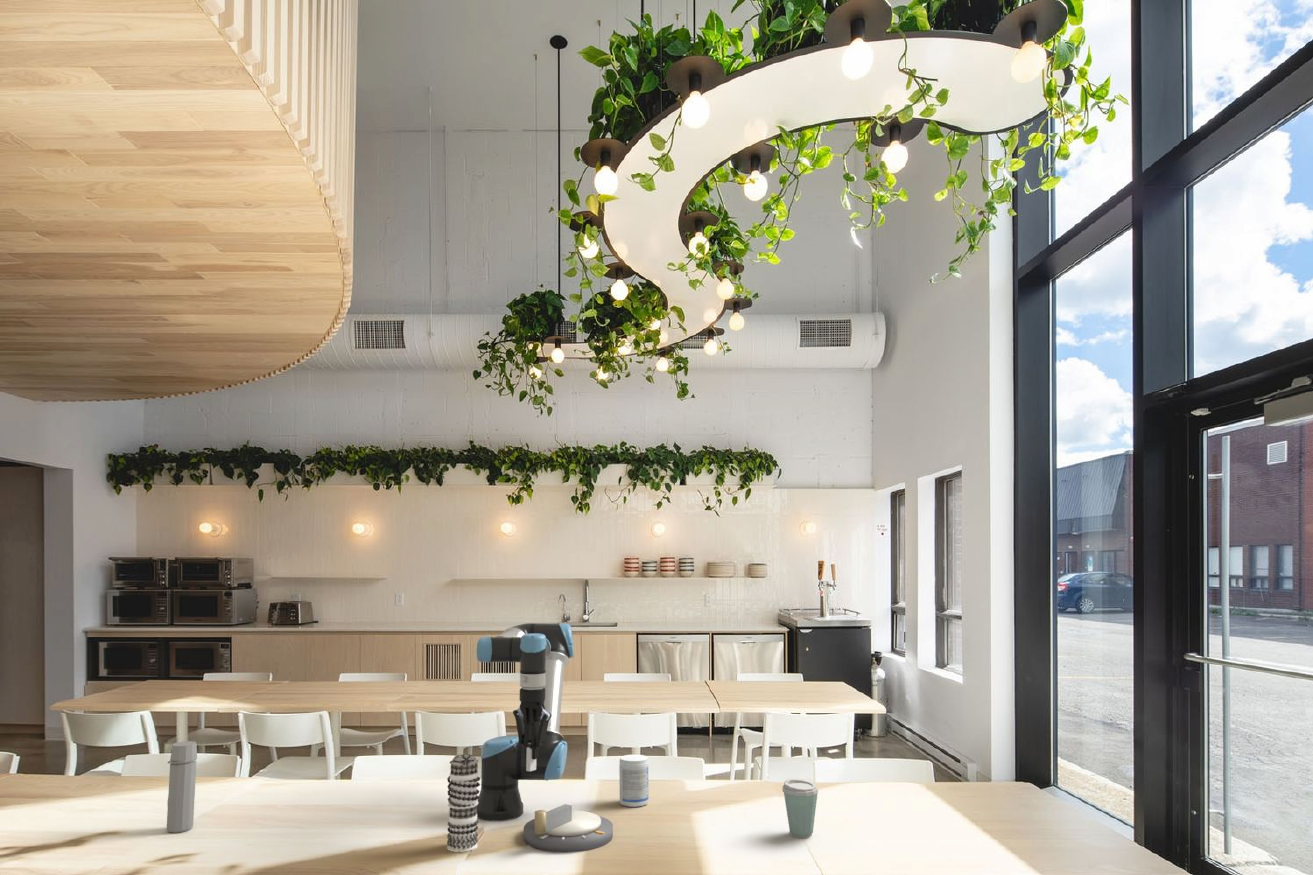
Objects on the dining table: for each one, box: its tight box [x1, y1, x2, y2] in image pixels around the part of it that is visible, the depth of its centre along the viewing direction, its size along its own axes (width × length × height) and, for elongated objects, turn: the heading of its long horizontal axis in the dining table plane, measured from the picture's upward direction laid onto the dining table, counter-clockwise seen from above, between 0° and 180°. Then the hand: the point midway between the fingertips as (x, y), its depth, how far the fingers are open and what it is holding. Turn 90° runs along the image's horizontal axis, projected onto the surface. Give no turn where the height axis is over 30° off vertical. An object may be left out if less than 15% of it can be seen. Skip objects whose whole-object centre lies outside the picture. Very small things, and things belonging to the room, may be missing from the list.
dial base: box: [522, 815, 614, 853], centre depth 268 cm, size 26×26×3 cm
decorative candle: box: [446, 753, 481, 853], centre depth 260 cm, size 9×9×25 cm
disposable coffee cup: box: [782, 778, 819, 839], centre depth 271 cm, size 11×11×15 cm
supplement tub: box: [618, 754, 650, 808], centre depth 302 cm, size 10×10×15 cm
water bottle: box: [166, 740, 198, 834], centre depth 275 cm, size 9×8×25 cm
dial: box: [534, 803, 601, 836], centre depth 266 cm, size 24×19×7 cm
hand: (531, 770), depth 267 cm, fingers closed
